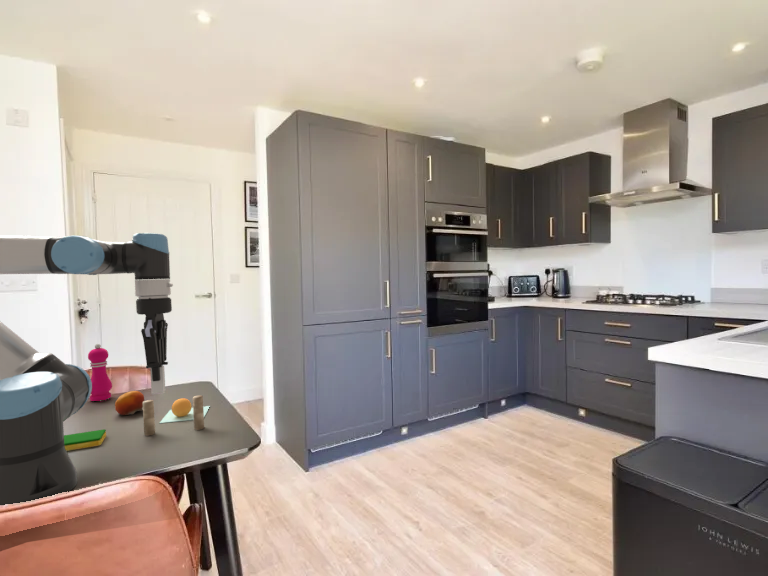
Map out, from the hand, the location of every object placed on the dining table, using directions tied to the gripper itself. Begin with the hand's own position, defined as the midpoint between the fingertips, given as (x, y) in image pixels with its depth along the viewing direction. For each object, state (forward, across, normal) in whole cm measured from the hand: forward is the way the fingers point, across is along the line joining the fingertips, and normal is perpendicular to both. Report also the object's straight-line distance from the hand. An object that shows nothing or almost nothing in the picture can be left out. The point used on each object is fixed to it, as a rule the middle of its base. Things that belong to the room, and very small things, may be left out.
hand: (158, 392), depth 101 cm
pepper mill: (+15, +55, +34) cm, 66 cm away
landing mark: (+14, +27, 0) cm, 31 cm away
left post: (+14, +13, +6) cm, 20 cm away
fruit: (+15, +35, +18) cm, 42 cm away
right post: (+14, +13, -6) cm, 20 cm away
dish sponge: (+15, +11, +24) cm, 30 cm away
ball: (+12, +26, +1) cm, 28 cm away
